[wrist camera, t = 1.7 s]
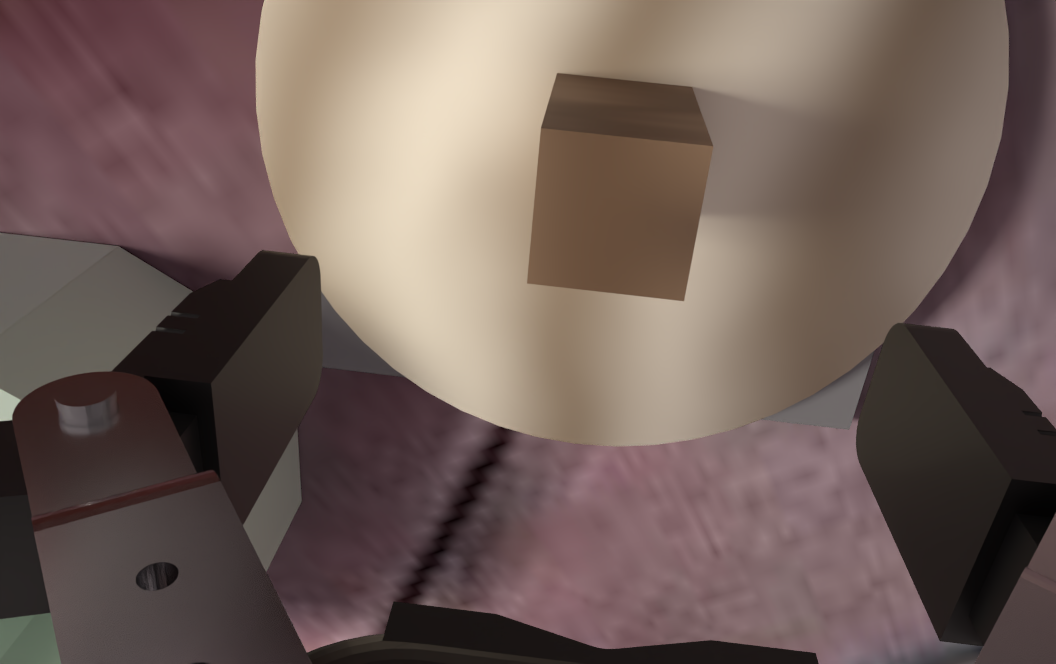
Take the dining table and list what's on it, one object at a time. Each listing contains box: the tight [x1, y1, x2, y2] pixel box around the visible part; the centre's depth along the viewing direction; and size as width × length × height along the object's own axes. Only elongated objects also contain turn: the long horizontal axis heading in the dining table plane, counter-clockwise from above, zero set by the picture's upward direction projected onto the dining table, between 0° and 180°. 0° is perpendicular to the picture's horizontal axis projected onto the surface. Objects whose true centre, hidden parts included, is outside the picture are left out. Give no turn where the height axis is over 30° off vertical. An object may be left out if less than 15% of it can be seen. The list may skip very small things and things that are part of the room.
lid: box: [256, 0, 1009, 446], centre depth 19 cm, size 18×18×6 cm
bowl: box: [0, 233, 302, 664], centre depth 26 cm, size 14×14×7 cm
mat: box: [321, 291, 874, 430], centre depth 22 cm, size 16×16×1 cm
